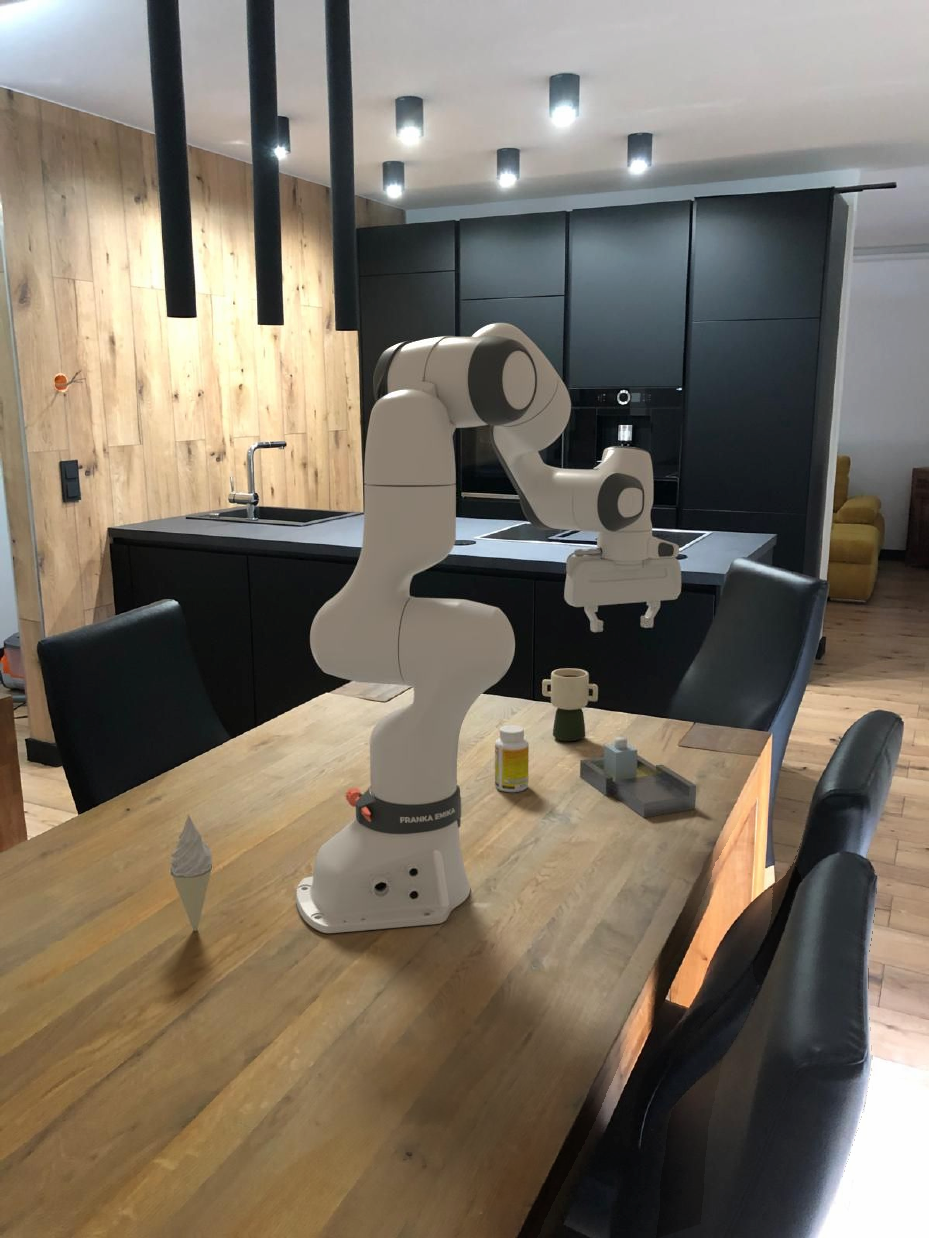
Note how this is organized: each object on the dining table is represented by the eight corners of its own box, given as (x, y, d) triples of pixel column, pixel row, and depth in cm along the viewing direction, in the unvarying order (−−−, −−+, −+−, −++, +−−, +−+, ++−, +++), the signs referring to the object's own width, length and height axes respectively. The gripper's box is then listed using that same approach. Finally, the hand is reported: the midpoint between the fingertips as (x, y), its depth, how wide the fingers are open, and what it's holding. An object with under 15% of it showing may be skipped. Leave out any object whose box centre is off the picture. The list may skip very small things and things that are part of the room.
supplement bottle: (535, 788, 166) (535, 729, 163) (510, 796, 162) (510, 736, 160) (512, 778, 170) (513, 721, 168) (487, 786, 166) (487, 728, 164)
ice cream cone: (196, 944, 118) (188, 826, 114) (164, 934, 120) (156, 817, 117) (225, 925, 122) (218, 810, 119) (194, 915, 124) (187, 802, 121)
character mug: (601, 736, 191) (603, 670, 189) (591, 747, 185) (593, 680, 182) (547, 729, 195) (548, 665, 193) (535, 740, 189) (536, 674, 186)
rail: (636, 818, 153) (637, 794, 152) (580, 776, 170) (580, 754, 170) (695, 809, 156) (696, 785, 156) (633, 768, 174) (634, 747, 173)
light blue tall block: (615, 781, 164) (616, 744, 163) (603, 773, 168) (604, 736, 167) (636, 778, 166) (637, 741, 164) (624, 770, 169) (625, 733, 168)
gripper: (575, 552, 157) (574, 638, 160) (687, 546, 164) (684, 628, 167) (558, 547, 163) (557, 630, 165) (667, 541, 169) (664, 620, 172)
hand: (621, 629), depth 166 cm, fingers open, 8 cm apart
